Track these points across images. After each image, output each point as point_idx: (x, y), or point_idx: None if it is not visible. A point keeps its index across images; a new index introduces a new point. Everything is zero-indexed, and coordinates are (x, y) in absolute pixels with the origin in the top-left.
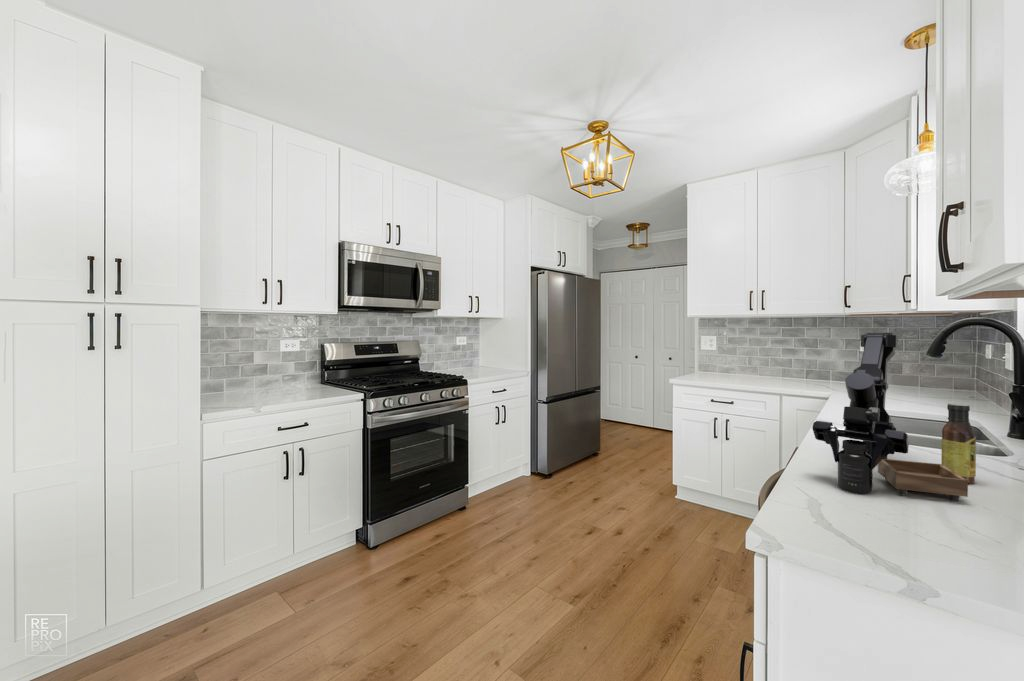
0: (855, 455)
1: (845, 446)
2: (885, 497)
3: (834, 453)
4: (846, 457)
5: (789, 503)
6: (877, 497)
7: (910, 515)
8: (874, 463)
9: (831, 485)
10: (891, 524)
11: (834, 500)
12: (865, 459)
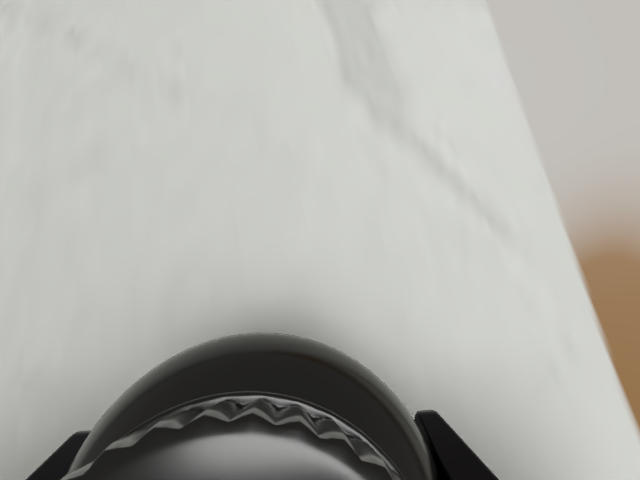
0: (215, 383)
1: (364, 440)
2: None
3: (479, 471)
4: (314, 346)
5: (433, 9)
6: None
7: (7, 204)
8: (37, 469)
9: None
10: (87, 45)
11: (314, 165)
12: (111, 408)
